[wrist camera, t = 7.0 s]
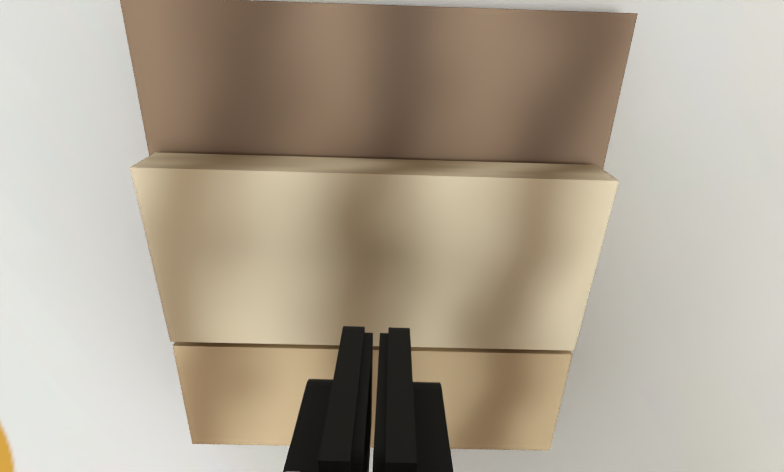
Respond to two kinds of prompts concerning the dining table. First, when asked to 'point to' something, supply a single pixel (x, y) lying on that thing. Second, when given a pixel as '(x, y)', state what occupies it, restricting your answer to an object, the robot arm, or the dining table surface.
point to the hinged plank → (373, 248)
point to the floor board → (375, 141)
